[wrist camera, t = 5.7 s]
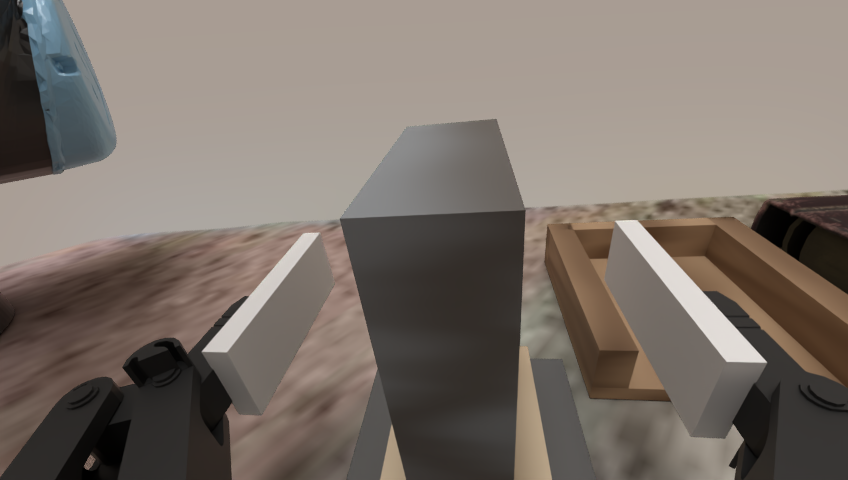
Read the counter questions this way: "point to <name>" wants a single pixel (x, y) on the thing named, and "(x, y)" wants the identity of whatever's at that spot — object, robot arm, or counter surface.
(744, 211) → the counter surface
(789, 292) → the tray
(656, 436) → the counter surface
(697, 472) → the counter surface
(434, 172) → the grey tall block
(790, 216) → the diary
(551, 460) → the mat
